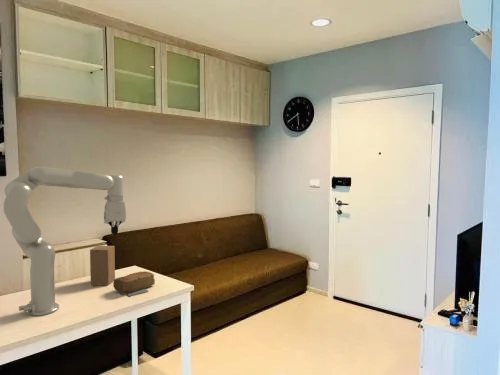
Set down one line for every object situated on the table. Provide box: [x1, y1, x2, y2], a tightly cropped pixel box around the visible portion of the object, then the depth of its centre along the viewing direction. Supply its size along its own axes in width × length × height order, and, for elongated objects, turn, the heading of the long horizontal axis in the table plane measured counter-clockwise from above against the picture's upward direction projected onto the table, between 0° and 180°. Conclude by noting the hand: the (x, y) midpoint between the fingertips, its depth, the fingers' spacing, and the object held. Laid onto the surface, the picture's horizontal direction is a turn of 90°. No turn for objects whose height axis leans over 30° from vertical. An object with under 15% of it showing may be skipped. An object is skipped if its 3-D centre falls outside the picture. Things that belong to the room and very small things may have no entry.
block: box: [112, 271, 156, 295], centre depth 196 cm, size 11×8×20 cm
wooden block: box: [89, 245, 116, 286], centre depth 205 cm, size 10×10×20 cm
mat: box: [124, 288, 149, 298], centre depth 193 cm, size 10×14×1 cm
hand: (114, 234), depth 189 cm, fingers closed
